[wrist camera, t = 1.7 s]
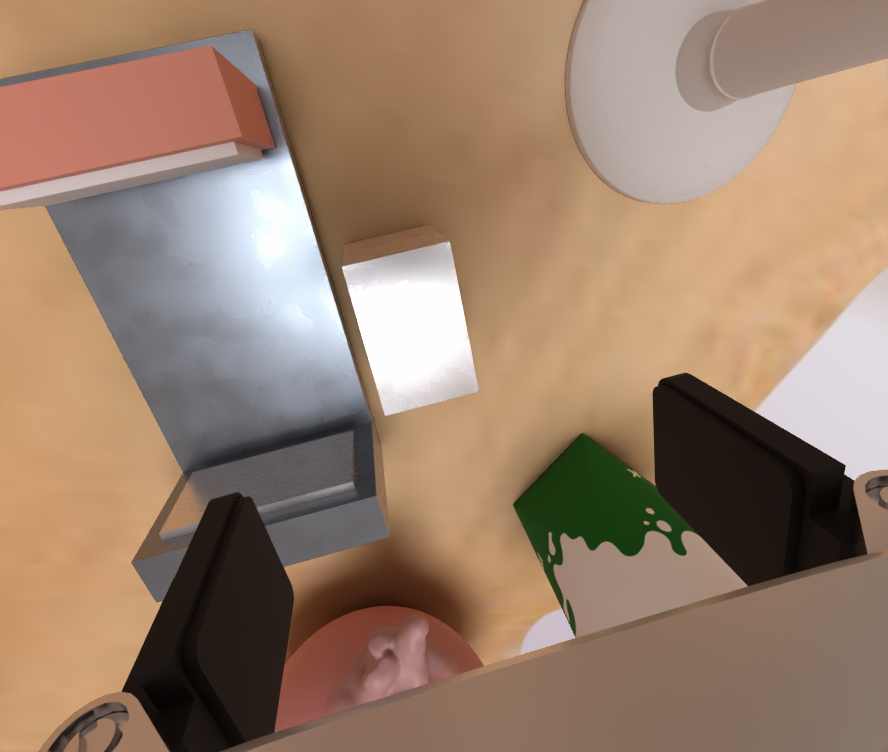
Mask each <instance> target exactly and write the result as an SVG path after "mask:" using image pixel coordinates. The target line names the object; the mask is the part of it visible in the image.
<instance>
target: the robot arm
mask: <svg viewBox="0 0 888 752" xmlns="http://www.w3.org/2000/svg"><path fill="white" fill-rule="evenodd" d="M653 422H654V458H655V483H656V487H657V489H658V491H659V493H660V495H661V496H662V497H663V498H664V499H665V500H666V501H667V502H668V503H669V505H670V506H671V507H672V508H673V509H674V510H675V511H676V512H677V513H678V514H679V515H680V516H681V517H682V518H683V519H684V520H685V521H686V522H687V523H688V524H689V525H690V526H691V527H692V528H693V530H694V531H695V532H696V533H697V534H698V535H699V536H700V537H701V538H702V539H703V540H704V541H705V542H706V543H707V544H708V545H709V546H710V547H711V548H712V549H713V550H714V551H715V552H716V553H717V555H718V556H719V557H720V558H721V559H722V560H723V561H724V562H725V563H726V564H727V565H728V566H729V567H730V568H731V569H732V570H733V571H734V572H735V573H736V574H737V575H738V576H739V577H740V578H741V579H742V581H743V582H744V583H745V584H746V585H747V586H748V587H744V588H741V589H738V590H734V591H731V592H728V593H724V594H721V595H718V596H714V597H711V598H708V599H704V600H701V601H698V602H694V603H691V604H688V605H684V606H681V607H677V608H674V609H671V610H667V611H664V612H661V613H657V614H654V615H651V616H647V617H644V618H641V619H637V620H634V621H631V622H627V623H624V624H621V625H618V626H614V627H611V628H608V629H604V630H601V631H598V632H595V633H591V634H588V635H585V636H581V637H578V638H575V639H572V640H568V641H565V642H562V643H558V644H555V645H552V646H549V647H545V648H542V649H539V650H536V651H532V652H529V653H526V654H523V655H519V656H516V657H513V658H509V659H506V660H503V661H500V662H496V663H493V664H490V665H487V666H483V667H480V668H477V669H474V670H470V671H467V672H464V673H461V674H457V675H454V676H451V677H448V678H445V679H441V680H438V681H435V682H432V683H429V684H425V685H422V686H419V687H416V688H413V689H409V690H406V691H403V692H400V693H397V694H393V695H390V696H387V697H384V698H381V699H377V700H374V701H371V702H368V703H364V704H361V705H358V706H355V707H352V708H348V709H345V710H342V711H339V712H336V713H333V714H330V715H327V716H324V717H321V718H318V719H315V720H312V721H308V722H305V723H302V724H299V725H296V726H293V727H290V728H287V729H284V730H281V731H278V732H275V725H276V718H277V711H278V705H279V698H280V691H281V684H282V677H283V671H284V664H285V657H286V650H287V643H288V637H289V630H290V623H291V616H292V609H293V602H294V595H293V589H292V585H291V583H290V580H289V578H288V576H287V574H286V572H285V569H284V567H283V565H282V563H281V561H280V558H279V556H278V554H277V552H276V550H275V547H274V545H273V543H272V541H271V538H270V536H269V534H268V532H267V530H266V527H265V525H264V523H263V521H262V519H261V516H260V514H259V512H258V510H257V508H256V505H255V503H254V501H253V499H252V498H251V497H250V496H247V497H243V495H242V494H241V493H239V492H236V493H232V494H229V495H225V496H221V497H217V498H214V499H211V500H210V501H209V503H208V505H207V507H206V509H205V511H204V514H203V516H202V518H201V520H200V522H199V525H198V527H197V529H196V531H195V533H194V536H193V538H192V540H191V542H190V544H189V547H188V549H187V551H186V553H185V555H184V558H183V560H182V562H181V564H180V566H179V569H178V571H177V573H176V575H175V577H174V579H173V580H172V582H171V585H170V587H169V589H168V591H167V593H166V595H165V598H164V600H163V602H162V604H161V606H160V609H159V611H158V613H157V615H156V617H155V620H154V622H153V624H152V626H151V628H150V631H149V633H148V635H147V637H146V639H145V641H144V644H143V646H142V648H141V650H140V652H139V655H138V657H137V659H136V661H135V663H134V666H133V668H132V670H131V672H130V674H129V677H128V679H127V681H126V683H125V685H124V687H123V690H122V692H116V693H112V694H107V695H104V696H102V697H100V698H98V699H96V700H94V701H91V702H89V703H88V704H87V705H85V706H84V707H82V708H81V709H79V710H78V711H76V712H75V713H73V714H72V715H71V716H70V717H69V718H68V719H67V720H65V721H64V722H63V723H62V724H61V725H60V726H59V727H58V728H57V729H56V730H55V731H54V732H53V733H52V735H51V736H50V737H49V738H48V739H47V740H46V742H45V743H44V744H43V745H42V747H41V749H40V750H39V752H888V470H879V471H871V472H867V473H865V474H862V475H860V476H859V477H858V478H857V479H856V480H855V481H854V480H852V479H851V478H849V477H847V476H846V475H844V472H845V466H846V465H844V464H842V463H841V462H839V461H837V460H836V459H834V458H832V457H830V456H829V455H827V454H825V453H823V452H822V451H820V450H818V449H817V448H815V447H813V446H812V445H810V444H808V443H807V442H805V441H803V440H801V439H800V438H798V437H796V436H795V435H793V434H791V433H790V432H788V431H786V430H784V429H783V428H781V427H779V426H777V425H776V424H774V423H773V422H771V421H769V420H767V419H766V418H764V417H762V416H761V415H759V414H757V413H755V412H754V411H752V410H750V409H749V408H747V407H745V406H744V405H742V404H740V403H738V402H737V401H735V400H733V399H732V398H730V397H728V396H726V395H725V394H723V393H721V392H720V391H718V390H716V389H715V388H713V387H711V386H709V385H708V384H706V383H704V382H703V381H701V380H699V379H697V378H696V377H694V376H692V375H691V374H688V373H682V374H678V375H675V376H671V377H667V378H663V379H661V380H660V381H659V384H658V386H657V387H655V388H654V390H653ZM274 732H275V733H274Z"/></svg>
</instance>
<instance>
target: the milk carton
mask: <svg viewBox="0 0 888 752" xmlns="http://www.w3.org/2000/svg"><path fill="white" fill-rule="evenodd" d="M513 506H514V508H515V510H516V512H517V514H518V516H519V518H520V520H521V523H522V525H523V527H524V529H525V531H526V533H527V535H528V537H529V540H530V542H531V544H532V546H533V548H534V550H535V552H536V554H537V557H538V559H539V561H540V563H541V565H542V567H543V569H544V571H545V573H546V576H547V578H548V580H549V582H550V584H551V586H552V588H553V590H554V592H555V595H556V597H557V599H558V601H559V603H560V605H561V607H562V609H563V611H564V614H565V616H566V618H567V620H568V622H569V624H570V626H571V629H572V631H573V633H574V635H575V637H576V638H578V637H581V636H585V635H588V634H591V633H595V632H598V631H601V630H604V629H608V628H611V627H614V626H618V625H621V624H624V623H627V622H631V621H634V620H637V619H641V618H644V617H647V616H651V615H654V614H657V613H661V612H664V611H667V610H671V609H674V608H677V607H681V606H684V605H688V604H691V603H694V602H698V601H701V600H704V599H708V598H711V597H714V596H718V595H721V594H724V593H728V592H731V591H734V590H738V589H741V588H744V587H748V586H747V585H746V584H745V583H744V582H743V581H742V579H741V578H740V577H739V576H738V575H737V574H736V573H735V572H734V571H733V570H732V569H731V568H730V567H729V566H728V565H727V564H726V563H725V562H724V561H723V560H722V559H721V558H720V557H719V556H718V555H717V553H716V552H715V551H714V550H713V549H712V548H711V547H710V546H709V545H708V544H707V543H706V542H705V541H704V540H703V539H702V538H701V537H700V536H699V535H698V534H697V533H696V532H695V531H694V530H693V528H692V527H691V526H690V525H689V524H688V523H687V522H686V521H685V520H684V519H683V518H682V517H681V516H680V515H679V514H678V513H677V512H676V511H675V510H674V509H673V508H672V507H671V506H670V505H669V503H668V502H667V501H666V500H665V499H664V498H663V497H662V496H661V495H660V493H659V491H658V489H657V487H656V486H655V485H654V484H652V483H651V482H650V481H648V480H647V479H646V478H644V477H643V476H642V475H640V474H639V473H637V472H636V471H635V470H633V469H632V468H630V467H629V466H628V465H626V464H625V463H623V462H622V461H621V460H619V459H618V458H616V457H615V456H613V455H612V454H611V453H609V452H608V451H606V450H605V449H604V448H602V447H601V446H599V445H598V444H597V443H595V442H594V441H592V440H591V439H589V438H588V437H587V436H585V435H584V434H581V435H580V436H579V437H578V438H577V439H576V440H575V441H574V442H573V443H572V445H571V446H570V447H569V448H568V449H567V450H566V451H565V452H564V453H563V454H562V455H561V456H560V457H559V458H558V459H557V460H556V461H555V462H554V463H553V464H552V465H551V466H550V467H549V468H548V469H547V470H546V472H545V473H544V474H543V475H542V476H541V477H540V478H539V479H538V480H537V481H536V482H535V483H534V484H533V485H532V486H531V487H530V488H529V489H528V490H527V491H526V492H525V493H524V494H523V495H522V496H521V497H520V499H519V500H518V501H517V502H516V503H515V504H514V505H513Z"/></svg>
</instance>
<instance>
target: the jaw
mask: <svg viewBox="0 0 888 752" xmlns="http://www.w3.org/2000/svg"><path fill="white" fill-rule="evenodd" d="M271 148H275V145H274V142H273V139H272V135H271V132H270V129H269V126H268V123H267V120H266V116H265V113H264V110H263V107H262V104H261V101H260V97H259V94H258V91H257V88H256V85H255V84H254V83H253V82H252V81H251V80H250V79H249V78H247V77H246V76H245V75H244V74H243V73H242V72H241V71H240V70H239V69H237V68H236V67H235V66H234V65H233V64H232V63H231V62H230V61H228V60H227V59H226V58H225V57H224V56H223V55H222V54H221V53H219V52H218V51H217V50H216V49H215V48H214V47H213V46H212V45H210V46H205V47H200V48H194V49H189V50H184V51H179V52H174V53H169V54H164V55H159V56H154V57H149V58H144V59H139V60H134V61H129V62H124V63H119V64H114V65H109V66H104V67H99V68H94V69H89V70H84V71H79V72H74V73H69V74H64V75H59V76H54V77H49V78H44V79H38V80H33V81H28V82H23V83H18V84H13V85H8V86H3V87H0V210H4V209H14V208H24V207H34V206H44V205H53V204H58V203H62V202H67V201H71V200H76V199H81V198H85V197H90V196H94V195H99V194H104V193H108V192H113V191H117V190H122V189H127V188H131V187H136V186H140V185H145V184H150V183H154V182H159V181H163V180H168V179H173V178H177V177H182V176H186V175H191V174H196V173H200V172H205V171H209V170H214V169H219V168H223V167H228V166H232V165H237V164H242V163H246V162H251V161H255V160H260V159H264V158H263V155H262V152H261V150H266V149H271Z"/></svg>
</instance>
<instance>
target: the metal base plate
mask: <svg viewBox="0 0 888 752" xmlns="http://www.w3.org/2000/svg"><path fill="white" fill-rule="evenodd" d="M210 45H212V46H213V47H214V48H215V49H216V50H217V51H218V52H219V53H221V54H222V55H223V56H224V57H225V58H226V59H227V60H228V61H230V62H231V63H232V64H233V65H234V66H235V67H236V68H237V69H239V70H240V71H241V72H242V73H243V74H244V75H245V76H246V77H247V78H249V79H250V80H251V81H252V82H253V83H254V84H255V85H256V88H257V91H258V94H259V97H260V101H261V104H262V107H263V110H264V113H265V116H266V120H267V123H268V126H269V129H270V132H271V135H272V139H273V142H274V145H275V148H271V149H266V150H261V152H262V155H263V158H264V159H260V160H255V161H251V162H246V163H242V164H237V165H232V166H228V167H223V168H219V169H214V170H209V171H205V172H200V173H196V174H191V175H186V176H182V177H177V178H173V179H168V180H163V181H159V182H154V183H150V184H145V185H140V186H136V187H131V188H127V189H122V190H117V191H113V192H108V193H104V194H99V195H94V196H90V197H85V198H81V199H76V200H71V201H67V202H62V203H58V204H53V205H45V207H46V209H47V211H48V213H49V215H50V216H51V218H52V220H53V222H54V224H55V226H56V228H57V230H58V232H59V234H60V236H61V238H62V240H63V242H64V243H65V245H66V247H67V249H68V251H69V253H70V255H71V257H72V259H73V261H74V263H75V265H76V267H77V269H78V270H79V272H80V274H81V276H82V278H83V280H84V282H85V284H86V286H87V288H88V290H89V292H90V294H91V296H92V297H93V299H94V301H95V303H96V305H97V307H98V309H99V311H100V313H101V315H102V317H103V319H104V321H105V323H106V324H107V326H108V328H109V330H110V332H111V334H112V336H113V338H114V340H115V342H116V344H117V346H118V348H119V350H120V351H121V353H122V355H123V357H124V359H125V361H126V363H127V365H128V367H129V369H130V371H131V373H132V375H133V377H134V378H135V380H136V382H137V384H138V386H139V388H140V390H141V392H142V394H143V396H144V398H145V400H146V402H147V404H148V405H149V407H150V409H151V411H152V413H153V415H154V417H155V419H156V421H157V423H158V425H159V427H160V429H161V431H162V432H163V434H164V436H165V438H166V440H167V442H168V444H169V446H170V448H171V450H172V452H173V454H174V456H175V458H176V459H177V461H178V463H179V465H180V467H181V469H182V471H183V474H182V476H181V478H180V479H179V481H178V483H177V485H176V486H175V488H174V490H173V491H172V493H171V495H170V497H169V498H168V500H167V502H166V504H165V505H164V507H163V509H162V510H161V512H160V514H159V516H158V517H157V519H156V521H155V523H154V524H153V526H152V528H151V529H150V531H149V533H148V535H147V536H146V538H145V540H144V542H143V543H142V545H141V547H140V548H139V550H138V552H137V554H136V555H135V557H134V559H133V561H132V562H131V563H132V565H133V566H134V568H135V569H136V571H137V572H138V574H139V576H140V577H141V579H142V580H143V582H144V583H145V585H146V587H147V588H148V590H149V591H150V593H151V595H152V596H153V598H154V599H155V601H156V602H160V601H163V600H164V598H165V595H166V593H167V591H168V589H169V587H170V585H171V582H172V580H173V579H174V577H175V575H176V573H177V571H178V569H179V566H180V564H181V562H182V560H183V558H184V555H185V553H186V551H187V549H188V547H189V544H190V542H191V540H192V538H193V536H194V533H195V531H196V529H197V527H198V525H199V522H200V520H201V518H202V516H203V514H204V511H205V509H206V507H207V505H208V503H209V501H210V500H211V499H214V498H217V497H221V496H225V495H229V494H232V493H236V492H239V493H241V494H242V495H243V497H247V496H250V497H251V498H252V499H253V501H254V503H255V505H256V508H257V510H258V512H259V514H260V516H261V519H262V521H263V523H264V525H265V527H266V530H267V532H268V534H269V536H270V538H271V541H272V543H273V545H274V547H275V550H276V552H277V554H278V556H279V558H280V561H281V563H282V565H283V567H285V566H289V565H292V564H296V563H300V562H303V561H307V560H310V559H314V558H317V557H321V556H325V555H328V554H332V553H335V552H339V551H342V550H346V549H350V548H353V547H357V546H360V545H364V544H367V543H371V542H375V541H378V540H382V539H385V538H389V537H390V532H389V521H388V511H387V500H386V489H385V479H384V468H383V457H382V447H381V443H380V439H379V436H378V433H377V429H376V426H375V423H374V420H373V416H372V413H371V410H370V406H369V403H368V400H367V396H366V393H365V390H364V387H363V383H362V380H361V377H360V373H359V370H358V367H357V363H356V360H355V357H354V353H353V350H352V347H351V344H350V340H349V337H348V334H347V330H346V327H345V324H344V320H343V317H342V314H341V311H340V307H339V304H338V301H337V297H336V294H335V291H334V287H333V284H332V281H331V277H330V274H329V271H328V268H327V264H326V261H325V258H324V254H323V251H322V248H321V244H320V241H319V238H318V234H317V231H316V228H315V225H314V221H313V218H312V215H311V211H310V208H309V205H308V201H307V198H306V195H305V192H304V188H303V185H302V182H301V178H300V175H299V172H298V168H297V165H296V162H295V158H294V155H293V152H292V149H291V145H290V142H289V139H288V135H287V132H286V129H285V125H284V122H283V119H282V116H281V112H280V109H279V106H278V102H277V99H276V96H275V92H274V89H273V86H272V82H271V79H270V76H269V73H268V69H267V66H266V63H265V59H264V56H263V53H262V49H261V46H260V43H259V39H258V38H257V36H256V35H255V33H254V32H253V31H252V29H251V30H246V31H241V32H236V33H231V34H226V35H221V36H216V37H211V38H206V39H201V40H196V41H190V42H185V43H180V44H175V45H170V46H165V47H160V48H155V49H150V50H145V51H140V52H135V53H130V54H125V55H120V56H115V57H109V58H104V59H99V60H94V61H89V62H84V63H79V64H74V65H69V66H64V67H59V68H54V69H49V70H44V71H39V72H34V73H28V74H23V75H18V76H13V77H8V78H3V79H0V87H3V86H8V85H13V84H18V83H23V82H28V81H33V80H38V79H44V78H49V77H54V76H59V75H64V74H69V73H74V72H79V71H84V70H89V69H94V68H99V67H104V66H109V65H114V64H119V63H124V62H129V61H134V60H139V59H144V58H149V57H154V56H159V55H164V54H169V53H174V52H179V51H184V50H189V49H194V48H200V47H205V46H210Z"/></svg>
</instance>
